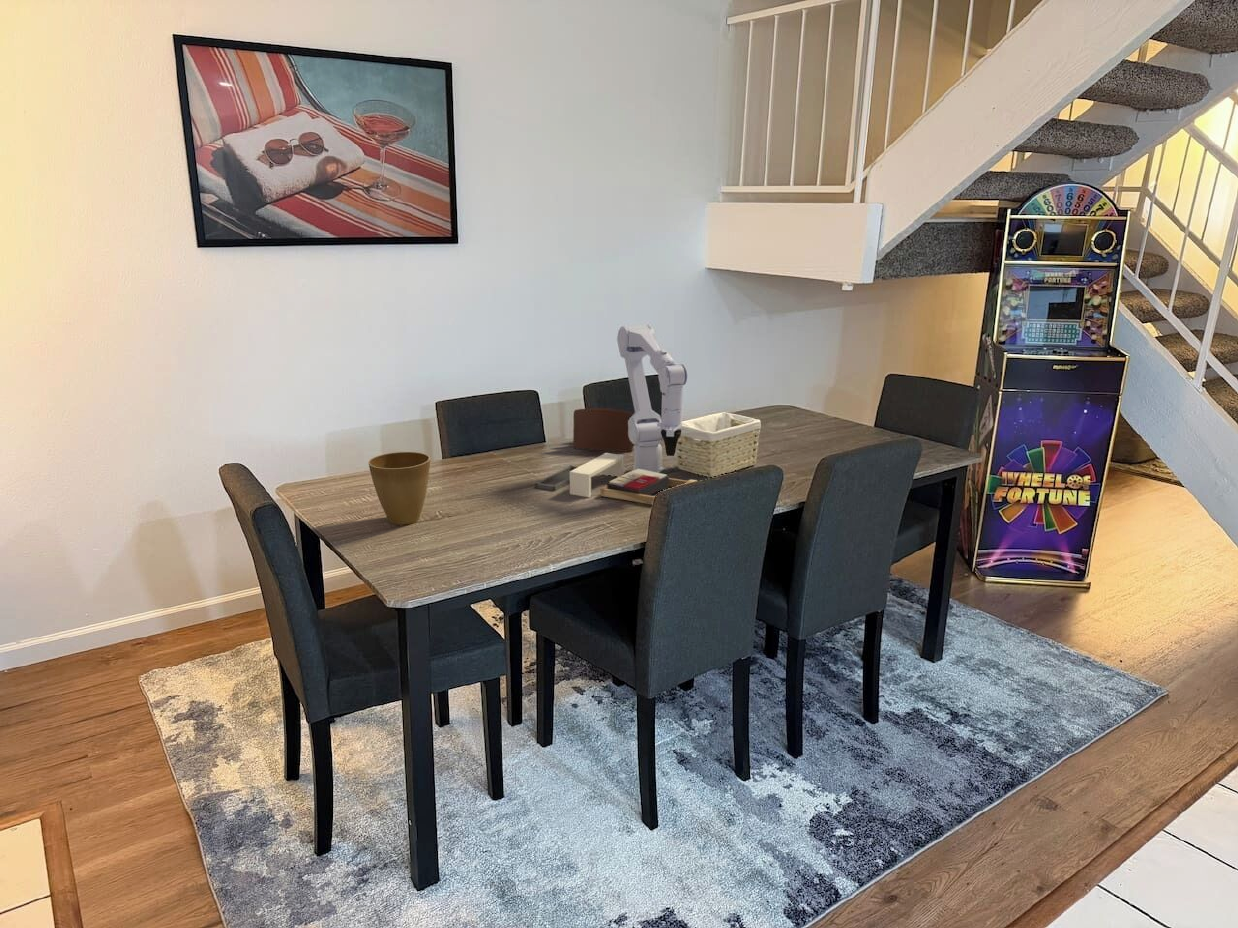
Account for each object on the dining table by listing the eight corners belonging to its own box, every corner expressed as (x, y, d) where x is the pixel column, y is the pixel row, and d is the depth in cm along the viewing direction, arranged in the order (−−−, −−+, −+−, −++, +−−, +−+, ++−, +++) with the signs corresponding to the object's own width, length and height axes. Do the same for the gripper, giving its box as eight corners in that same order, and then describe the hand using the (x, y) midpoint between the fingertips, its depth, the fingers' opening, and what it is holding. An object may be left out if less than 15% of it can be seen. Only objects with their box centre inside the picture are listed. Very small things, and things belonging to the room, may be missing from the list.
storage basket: (709, 480, 257) (711, 432, 253) (670, 469, 268) (671, 422, 264) (761, 465, 272) (763, 419, 268) (721, 455, 284) (723, 410, 280)
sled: (629, 478, 257) (629, 470, 256) (696, 488, 248) (697, 480, 247) (600, 495, 241) (600, 487, 240) (671, 507, 232) (672, 498, 231)
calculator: (606, 480, 242) (637, 466, 253) (606, 495, 243) (637, 480, 255) (638, 488, 236) (669, 473, 247) (638, 503, 237) (669, 487, 249)
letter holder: (632, 452, 286) (633, 410, 282) (572, 449, 289) (572, 407, 285) (636, 444, 295) (637, 403, 292) (579, 441, 299) (579, 401, 295)
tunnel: (571, 468, 267) (571, 448, 265) (623, 476, 259) (623, 455, 258) (533, 488, 248) (533, 466, 246) (588, 497, 240) (588, 474, 239)
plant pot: (408, 506, 231) (405, 448, 227) (445, 519, 222) (442, 458, 218) (360, 521, 220) (355, 459, 216) (397, 534, 211) (393, 471, 207)
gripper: (658, 402, 251) (657, 448, 255) (655, 413, 237) (654, 461, 241) (683, 403, 250) (682, 448, 254) (682, 414, 237) (680, 462, 240)
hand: (670, 455), depth 248 cm, fingers closed
